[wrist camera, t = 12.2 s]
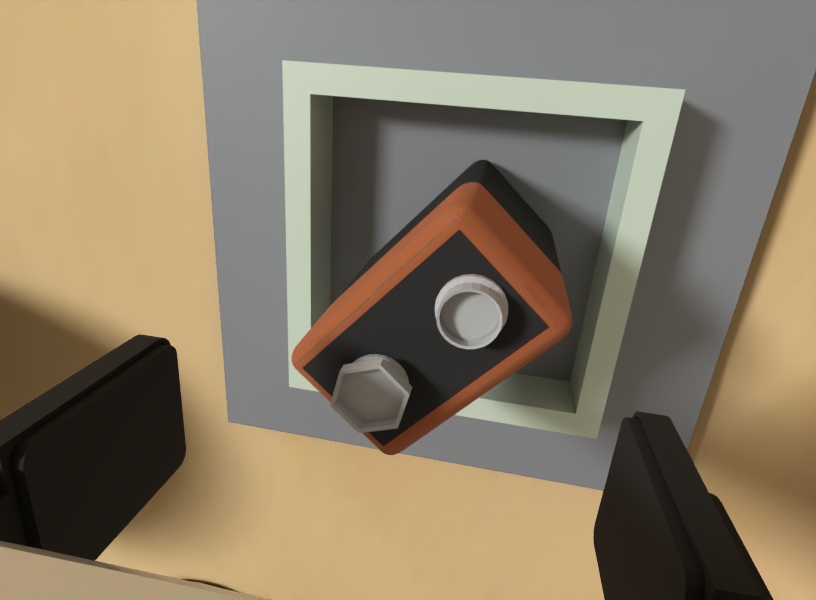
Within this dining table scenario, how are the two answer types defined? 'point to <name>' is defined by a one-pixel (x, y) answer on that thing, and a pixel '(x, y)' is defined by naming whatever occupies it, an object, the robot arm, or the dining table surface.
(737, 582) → the robot arm
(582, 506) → the dining table surface
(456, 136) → the slot tray
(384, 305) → the battery
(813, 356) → the dining table surface
